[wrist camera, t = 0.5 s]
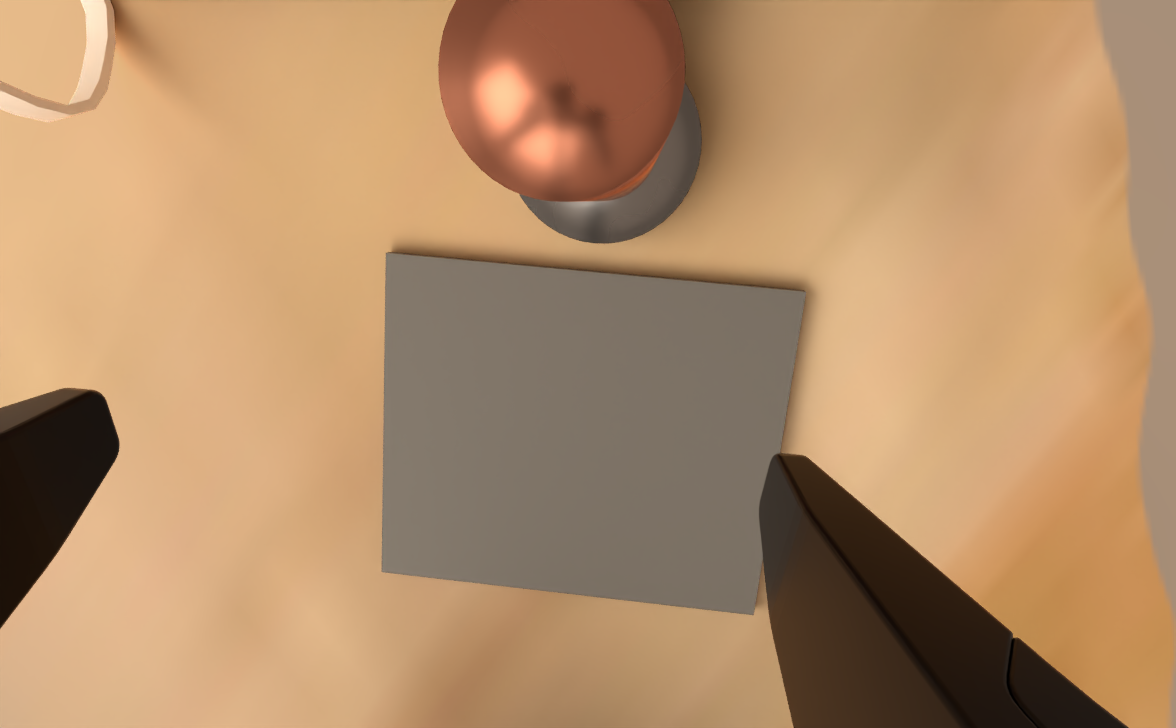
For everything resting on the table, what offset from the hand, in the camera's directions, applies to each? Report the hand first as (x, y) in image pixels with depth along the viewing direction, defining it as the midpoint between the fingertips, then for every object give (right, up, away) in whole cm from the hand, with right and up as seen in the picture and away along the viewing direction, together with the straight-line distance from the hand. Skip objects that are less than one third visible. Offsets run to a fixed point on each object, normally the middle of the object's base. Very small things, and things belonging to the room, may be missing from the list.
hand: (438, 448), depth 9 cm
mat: (+2, -2, +15) cm, 15 cm away
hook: (+3, +13, +11) cm, 18 cm away
